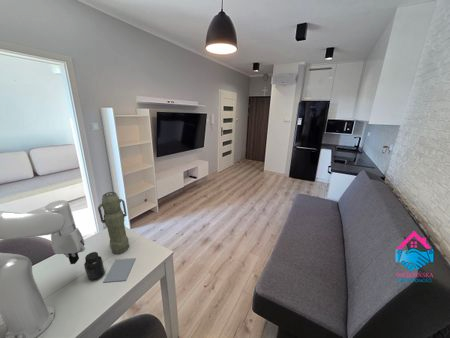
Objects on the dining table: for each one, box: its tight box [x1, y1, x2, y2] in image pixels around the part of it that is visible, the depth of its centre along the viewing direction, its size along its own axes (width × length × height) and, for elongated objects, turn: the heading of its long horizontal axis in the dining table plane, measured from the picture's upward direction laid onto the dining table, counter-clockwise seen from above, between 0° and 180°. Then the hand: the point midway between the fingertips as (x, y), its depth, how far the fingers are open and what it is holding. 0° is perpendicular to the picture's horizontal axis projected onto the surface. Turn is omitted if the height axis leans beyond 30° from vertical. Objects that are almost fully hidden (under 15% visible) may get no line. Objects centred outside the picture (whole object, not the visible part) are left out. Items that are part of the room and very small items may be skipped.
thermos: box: [97, 191, 130, 256], centre depth 98 cm, size 9×12×35 cm
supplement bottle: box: [83, 251, 106, 282], centre depth 85 cm, size 7×7×12 cm
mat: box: [102, 257, 136, 284], centre depth 90 cm, size 13×10×1 cm
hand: (75, 261), depth 83 cm, fingers closed
